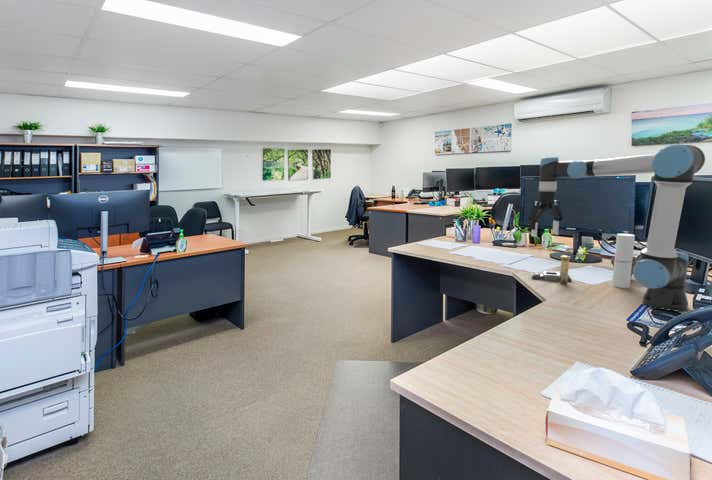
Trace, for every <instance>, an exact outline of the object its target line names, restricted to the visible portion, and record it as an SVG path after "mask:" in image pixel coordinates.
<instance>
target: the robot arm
mask: <svg viewBox="0 0 712 480" xmlns="http://www.w3.org/2000/svg"><path fill="white" fill-rule="evenodd" d="M559 159H560V158H559V157H558V156H544V157H541V159H540V165H539V184H538V200H539V201H536V200H535V201H533V205H532V207H531V211H530V214H529V216H528V218H527V222H529V223H530V230H531V231H530V237H535V238H537V237H538V223H539V222H538V220H539V219H540V217H541V216H542V214H543V213H544V212H545V211H549V213H550V214H551V216H552V218H553V219H554V220H552V221H553V222H552V235H556V236H559V228H560V223H561V222H562V221H563V220H564V215H563V212H562V208H561V206H560V203H561V202H560V200H556V198H557V189H558V188H557V187H558V178H559V179H560V178H561V179H581V178H591V177H592V178H593V177H606V176H623V175H625V176H626V175H641V174H654V176H653V181H652V182H654V183H655V185H656V193H655V196H654V197H655V198H654V203H653V206H652V213H651V219H650V225H649V230H648V236H647V241H646V247H644V248H643V249H641V250H640V254H639V257H638V258H639V259H638V262H637V263H636V264H635V266H634V268H633V274H632V277H633V278H634V279H635V280H634V281H636V282H637V284H639V285H641V286H642V287H643V288H647V289H646V290H645V292H644V293H643V297H642V304H644V305H646V306H647V305H648V307H650V306H651V307H650V308H653V307H656V308H655V309H657V308H664V309H670V310H678V311H677V312H685V311H687V310H688V309H689V302H688V301H689V300H688V297H687V294H686V293H687V292H686V283H687V282H686V281H687V276H688V275H687V274H688V266H689V263H690V261H689V254H688V253H687V252H682V251H676V250H675V245H676V241H677V235H678V231H679V226H680V219H681V215H682V210H683V205H684V199H685V194H686V189H687V187H688V186H690V185H692V184H693V181H694V176H695V174H696V173H698V172H699V171H700V170H701V169H702V168H703V167H704V164H705V161H706V156H705V153H704V152H703V150H702V149H701V148H699V147H698V146H696V145H691V144H680V143H679V144H678V143H677V144H671V145H667V146H664V147H662V148H660V149H659V150H658V151H657V152H656V153H651V154H643V155H632V156H622V157H621V156H620V157H613V158H599V159H591V160H589V159H588V160H559Z"/></svg>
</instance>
